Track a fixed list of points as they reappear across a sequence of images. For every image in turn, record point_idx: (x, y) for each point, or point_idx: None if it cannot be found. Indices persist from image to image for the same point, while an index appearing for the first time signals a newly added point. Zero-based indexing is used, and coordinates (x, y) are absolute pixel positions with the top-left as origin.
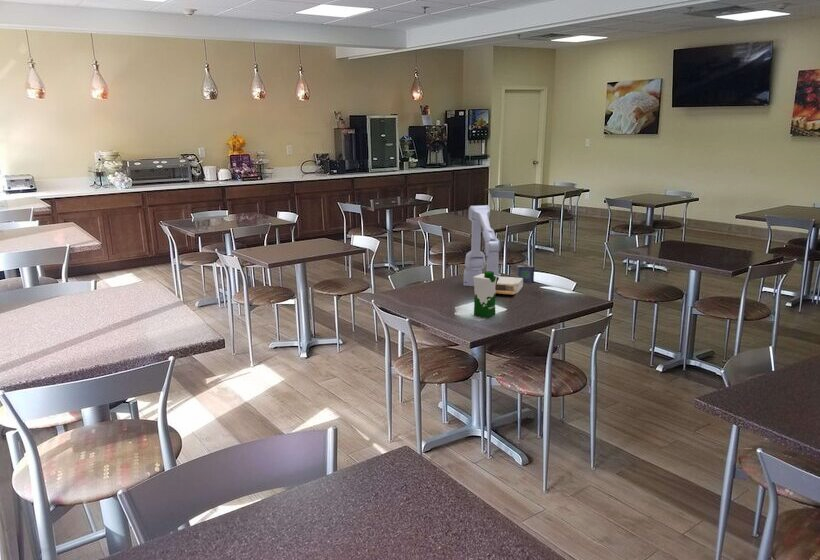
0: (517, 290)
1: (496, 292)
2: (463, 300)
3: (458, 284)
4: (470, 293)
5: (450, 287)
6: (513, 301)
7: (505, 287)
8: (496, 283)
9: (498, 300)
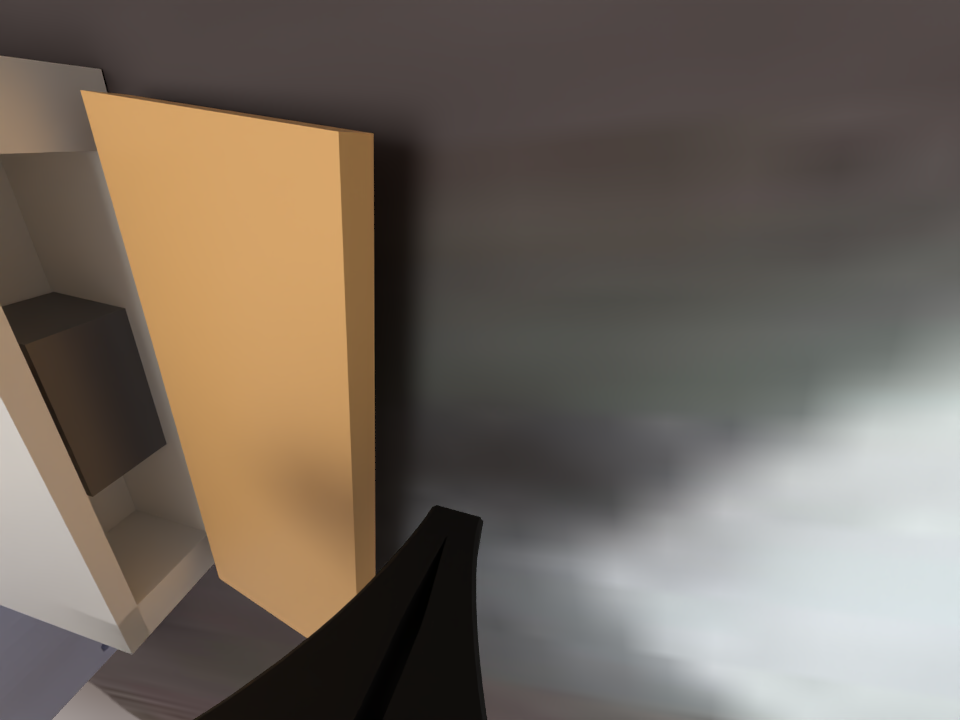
0: (16, 58)
1: (368, 451)
2: (588, 698)
3: None
4: None
5: (231, 691)
6: (585, 91)
7: (6, 303)
8: (334, 650)
9: (545, 377)
